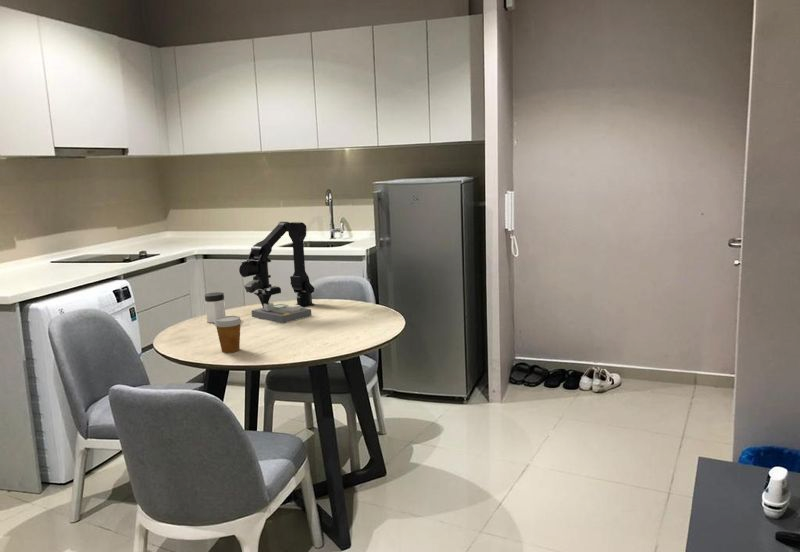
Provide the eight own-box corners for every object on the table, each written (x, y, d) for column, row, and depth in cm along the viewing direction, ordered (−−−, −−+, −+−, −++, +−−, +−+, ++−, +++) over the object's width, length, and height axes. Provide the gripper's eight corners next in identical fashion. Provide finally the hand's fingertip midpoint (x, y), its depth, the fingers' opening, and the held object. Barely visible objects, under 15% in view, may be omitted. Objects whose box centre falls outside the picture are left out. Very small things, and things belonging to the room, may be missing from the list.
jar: (211, 324, 283) (209, 296, 281) (202, 321, 289) (200, 294, 287) (230, 320, 289) (228, 293, 287) (221, 317, 295) (218, 291, 293)
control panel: (280, 310, 305) (280, 303, 304) (311, 315, 290) (311, 308, 290) (251, 317, 293) (251, 310, 293) (282, 323, 278) (282, 316, 278)
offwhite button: (294, 309, 293) (294, 304, 293) (300, 310, 290) (300, 305, 290) (286, 311, 290) (286, 306, 290) (292, 312, 287) (292, 307, 287)
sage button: (280, 310, 300) (280, 304, 300) (286, 311, 297) (286, 305, 297) (272, 311, 297) (272, 306, 296) (278, 313, 294) (278, 307, 293)
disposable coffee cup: (246, 346, 245) (243, 314, 243) (241, 353, 236) (238, 320, 234) (220, 347, 245) (217, 316, 243) (214, 354, 235) (211, 322, 233)
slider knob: (269, 308, 292) (269, 302, 291) (273, 309, 290) (273, 303, 289) (264, 310, 290) (263, 303, 289) (268, 311, 288) (267, 304, 287)
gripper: (234, 274, 289) (237, 309, 292) (259, 278, 277) (262, 314, 279) (255, 270, 297) (258, 304, 300) (280, 274, 285) (283, 309, 288)
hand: (264, 308), depth 292 cm, fingers closed
